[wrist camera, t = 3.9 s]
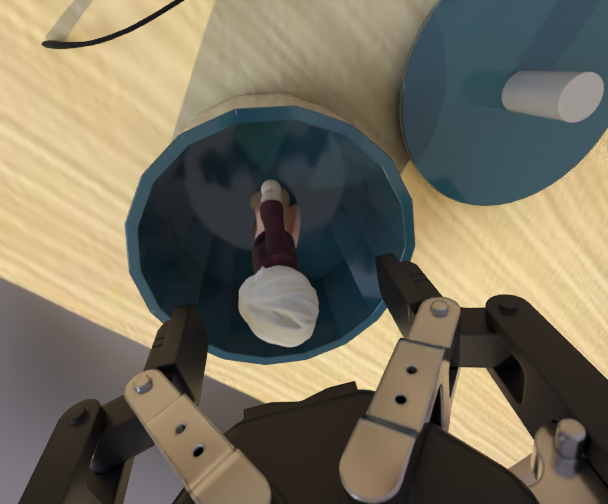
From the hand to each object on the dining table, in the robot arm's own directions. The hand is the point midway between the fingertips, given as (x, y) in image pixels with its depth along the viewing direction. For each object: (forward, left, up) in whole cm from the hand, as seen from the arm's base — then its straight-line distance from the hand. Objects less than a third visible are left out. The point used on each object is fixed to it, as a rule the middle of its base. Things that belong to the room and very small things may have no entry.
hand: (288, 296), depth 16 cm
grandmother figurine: (0, 0, -11) cm, 11 cm away
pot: (0, 0, -11) cm, 11 cm away
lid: (+17, +4, -10) cm, 20 cm away
